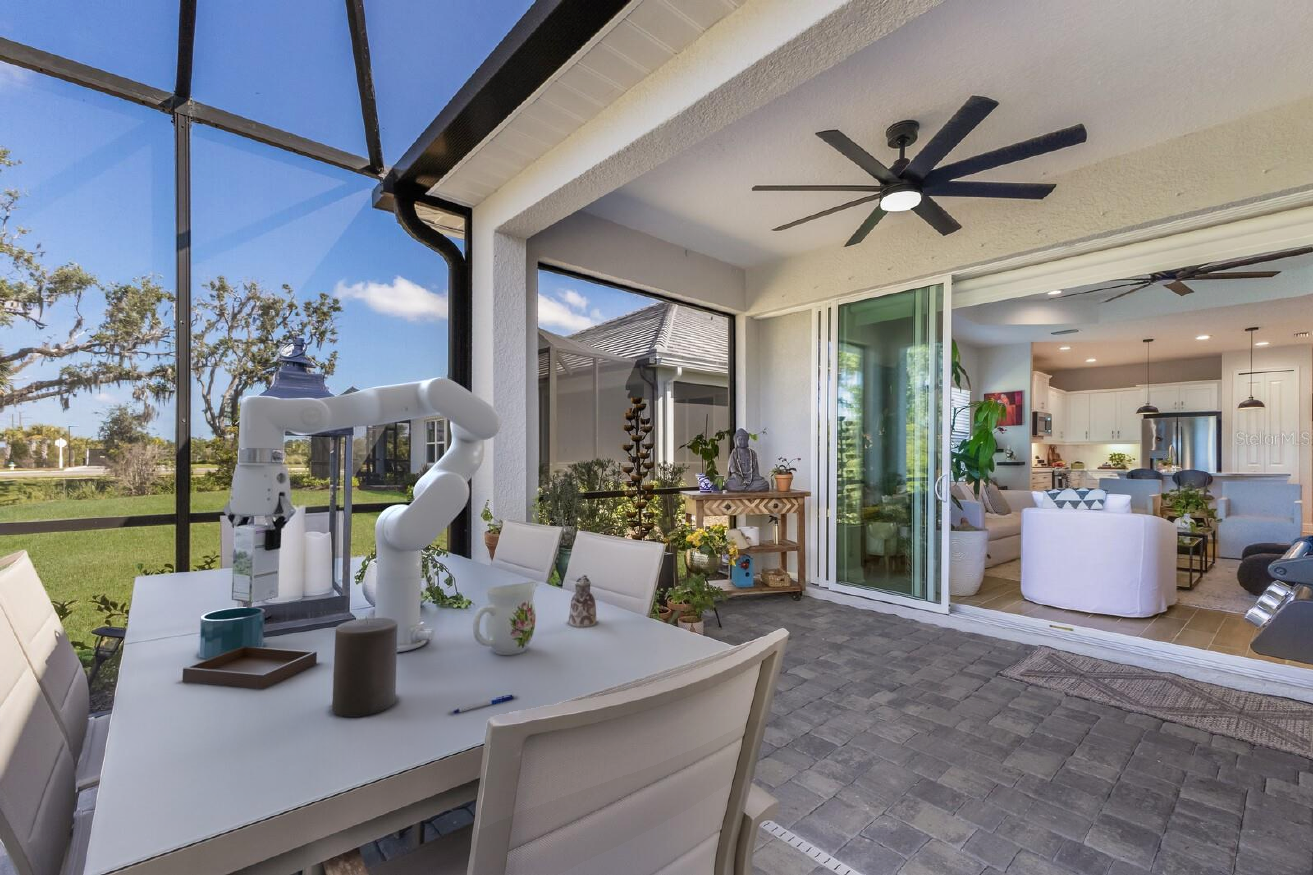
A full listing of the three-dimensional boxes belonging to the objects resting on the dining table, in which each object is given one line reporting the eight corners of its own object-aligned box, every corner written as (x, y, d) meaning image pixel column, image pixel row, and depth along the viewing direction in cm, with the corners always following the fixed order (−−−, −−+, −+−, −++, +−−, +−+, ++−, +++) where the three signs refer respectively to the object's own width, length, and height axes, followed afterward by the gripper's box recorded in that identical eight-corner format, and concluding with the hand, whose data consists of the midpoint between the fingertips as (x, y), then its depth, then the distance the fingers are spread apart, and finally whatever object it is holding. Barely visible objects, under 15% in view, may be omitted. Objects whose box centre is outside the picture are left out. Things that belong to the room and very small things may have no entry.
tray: (316, 664, 117) (317, 651, 117) (262, 689, 104) (263, 675, 104) (243, 658, 120) (244, 646, 120) (182, 681, 107) (182, 668, 107)
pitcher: (456, 657, 122) (458, 592, 123) (519, 636, 137) (521, 578, 138) (490, 668, 116) (492, 600, 117) (553, 645, 131) (554, 585, 132)
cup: (275, 644, 129) (277, 608, 129) (231, 661, 118) (232, 622, 118) (232, 641, 131) (234, 605, 131) (184, 657, 120) (186, 618, 120)
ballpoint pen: (512, 698, 102) (512, 692, 102) (514, 700, 102) (514, 694, 102) (453, 713, 96) (453, 707, 96) (455, 715, 95) (455, 709, 95)
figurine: (565, 625, 147) (566, 578, 147) (573, 618, 154) (574, 573, 154) (591, 627, 146) (592, 580, 146) (599, 620, 153) (600, 574, 153)
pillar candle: (353, 723, 91) (356, 628, 92) (320, 708, 97) (323, 618, 97) (407, 701, 100) (410, 615, 100) (374, 689, 105) (377, 606, 105)
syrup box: (279, 597, 115) (282, 524, 115) (250, 603, 109) (253, 527, 110) (259, 594, 117) (262, 522, 117) (229, 601, 111) (232, 525, 112)
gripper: (313, 459, 116) (310, 547, 116) (240, 457, 119) (236, 544, 118) (284, 458, 109) (280, 553, 108) (206, 457, 112) (202, 550, 111)
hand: (257, 548), depth 113 cm, fingers closed on syrup box, 6 cm apart
